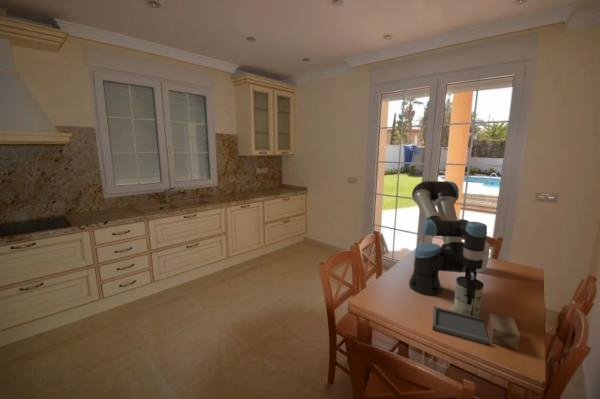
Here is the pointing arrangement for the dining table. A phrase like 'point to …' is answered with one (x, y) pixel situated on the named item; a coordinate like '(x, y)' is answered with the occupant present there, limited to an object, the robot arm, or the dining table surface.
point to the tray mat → (460, 325)
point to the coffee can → (460, 298)
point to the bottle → (484, 258)
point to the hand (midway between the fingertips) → (466, 303)
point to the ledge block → (503, 331)
